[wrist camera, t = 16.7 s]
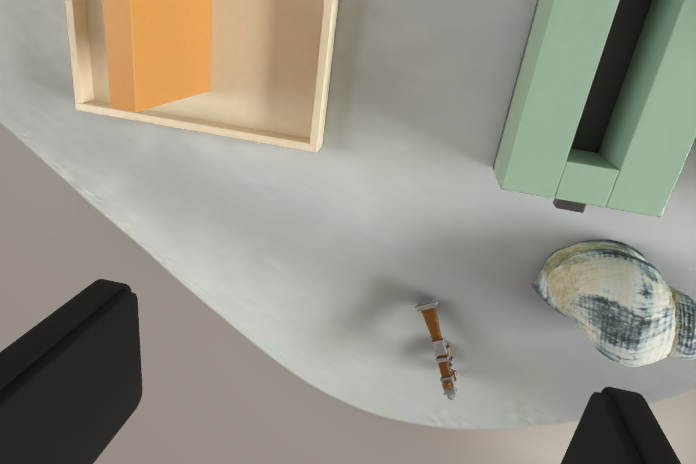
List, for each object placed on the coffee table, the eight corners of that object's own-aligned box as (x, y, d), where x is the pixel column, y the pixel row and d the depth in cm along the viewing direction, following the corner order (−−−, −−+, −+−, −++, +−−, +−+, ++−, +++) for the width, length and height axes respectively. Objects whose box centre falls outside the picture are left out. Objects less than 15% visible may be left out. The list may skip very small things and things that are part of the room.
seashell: (584, 214, 37) (681, 314, 39) (519, 284, 37) (620, 383, 39) (643, 218, 31) (756, 337, 33) (566, 303, 31) (683, 419, 33)
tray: (73, -119, 33) (52, -128, 31) (348, -84, 31) (343, -91, 29) (92, 106, 39) (75, 110, 37) (322, 146, 37) (316, 152, 35)
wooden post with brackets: (446, 388, 43) (441, 405, 39) (422, 300, 44) (414, 307, 39) (466, 384, 42) (463, 401, 38) (441, 295, 43) (436, 302, 39)
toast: (190, -48, 33) (97, -76, 24) (212, -44, 33) (127, -71, 24) (190, 87, 37) (109, 108, 28) (210, 91, 36) (136, 112, 27)
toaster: (560, -85, 29) (582, -105, 25) (734, -64, 28) (791, -80, 24) (488, 181, 36) (496, 203, 32) (626, 205, 35) (654, 232, 31)
